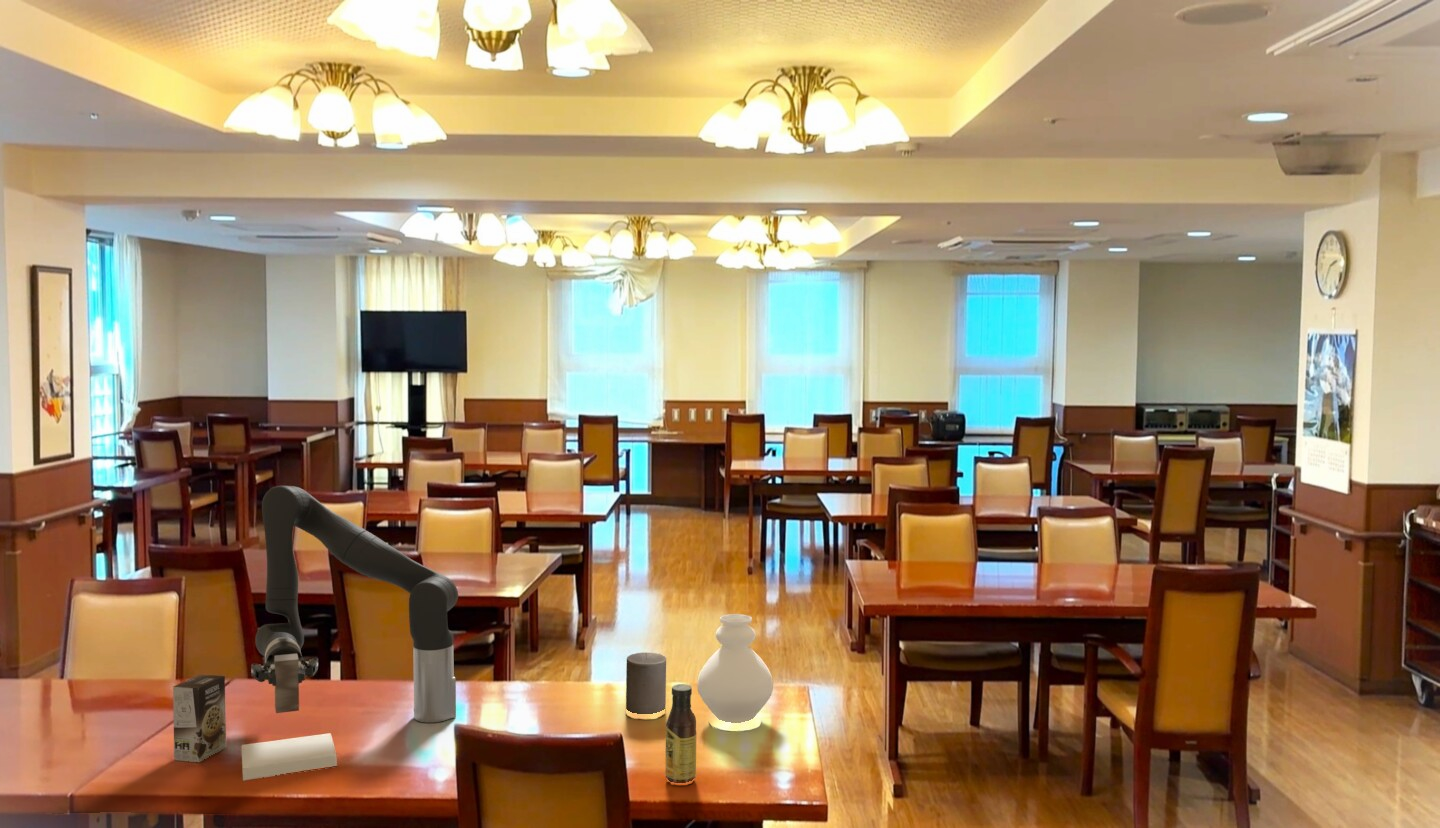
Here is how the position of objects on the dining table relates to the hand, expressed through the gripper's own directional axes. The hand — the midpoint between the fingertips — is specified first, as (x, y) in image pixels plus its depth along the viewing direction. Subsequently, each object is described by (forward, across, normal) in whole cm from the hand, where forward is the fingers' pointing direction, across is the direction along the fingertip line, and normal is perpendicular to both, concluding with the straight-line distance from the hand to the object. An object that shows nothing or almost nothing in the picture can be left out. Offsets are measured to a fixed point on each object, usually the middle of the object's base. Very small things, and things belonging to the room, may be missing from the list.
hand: (287, 679), depth 226 cm
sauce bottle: (+41, +72, +18) cm, 85 cm away
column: (-3, 0, +7) cm, 8 cm away
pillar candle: (-1, +80, +18) cm, 82 cm away
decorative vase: (+13, +97, +18) cm, 100 cm away
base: (-2, 0, +18) cm, 19 cm away
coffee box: (-14, -17, +19) cm, 29 cm away
